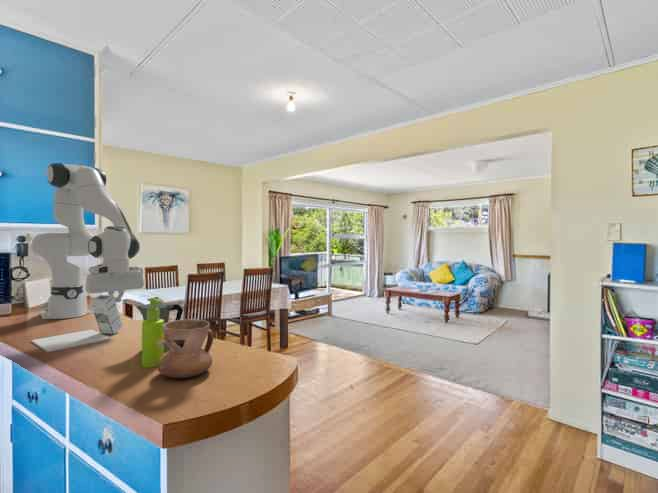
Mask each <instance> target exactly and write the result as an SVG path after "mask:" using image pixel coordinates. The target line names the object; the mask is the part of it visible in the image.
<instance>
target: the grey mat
mask: <svg viewBox="0 0 658 493" xmlns="http://www.w3.org/2000/svg"><path fill="white" fill-rule="evenodd" d="M109 340H112V337H111V336H110V337H109V336H108V335H107V334H101V332H100V331H99V332H98V331H96V330H94V329H87V330H81V331H76V332H70V333H64V334H59V335H54V336H49V337H42V338H35V339H32V340H30V341H31V343H32V344H34V345H35V346H38V348H41V350H43V351H45V352H46V353H50V352H56V351H60V350H65V349H70V348H75V347H79V346H80V347H81V346H87V345H89V344H95V343H100V342H105V341H109Z"/></svg>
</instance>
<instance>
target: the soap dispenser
mask: <svg viewBox="0 0 658 493" xmlns="http://www.w3.org/2000/svg"><path fill="white" fill-rule="evenodd" d="M147 301H148V302H149V304H150V308H149V309H148V310H147V320H145V321H143V320H142V322H141V367H142V368H147V369H149V368H150V369H151V368H152V369H153V368H157V363H158V360H159V359H160V358H161V357H162V356H163V355H164V354H165V352H164V344H163V345H161V346H159V345H158V344H157V343H156V342H157V341H158V340H160V339H162V338H164V334H163V325H164V320H163V319H159V309H158V308H156V303H164V301H165V300H164V299H162V298H160V297H159V298H155V297H152V298H147Z"/></svg>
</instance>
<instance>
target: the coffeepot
mask: <svg viewBox="0 0 658 493" xmlns="http://www.w3.org/2000/svg"><path fill="white" fill-rule="evenodd" d="M154 298H159V299H160V297H158V296H156V297H154ZM149 308H150V303H148V304H142V305H138V306H136V308H135V309H137V310H138V311H139V313H140V314H141V315H142V319H143V320H142V322H143V321H145V320H147V310H148V309H149ZM156 308H158V309H159V319H163V320H164V324H165V323H168V322H169V317H170V313H171V311H174V310H176V311H177V312H176V314H175V315H176V316H175V319H174V320H181V318H182V316H183V313H184V309H183V308H182V306H181V305H179V303H177V304H176V303H173V304H171V303H164V302H161V303H156ZM164 338H165V337H164ZM168 351H170V349H169V347H168V345H167V344H164V353H165V352H166V353H167V352H168Z"/></svg>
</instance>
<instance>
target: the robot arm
mask: <svg viewBox="0 0 658 493" xmlns="http://www.w3.org/2000/svg"><path fill="white" fill-rule="evenodd" d="M45 173H46V180H47V182H48V183H49V185H50V186H53V187H54V188H55V192H54V198H53V219H54V221H55V222H56V223H57V224H59V225H61V226H64V227H66V228H67V229H68V232H47V233H46V232H45V233H39V234H36V235H35V236H34V238H32V241H31V249H32V251H33V253H35V255H37V256H39V257H41V258H42V259H43V260H44V261H45V262H46V263H47V264H48V266H49V267H50V270H51V278H52V286H51V289H50V296H49V298H48V299H47V301H46V302H44V303H42V309H45V310H43V311H40V317H41V319H42V320H62V319H63V320H64V319H72V318H78V317H83V316H85V315H87V314H91V310H89V309H88V302H87V296H86V295H84V294H83V293H84V285H83V271H82V268H81V267H80V266H79V265H76V264H74V263H71V262H69V261H68V259H67V258H68V257H86V256H92V257H93V258H96V259H102V263H99V264H96V265H94V266H90V267H88V273H89V274H88V275H87V276H86V279H85V291H86V293H87V294H91V295H92V294H100V293H101V294H102V293H107V294H108V295H113V296H114V295H115V292H118V295H117V297H115V296H114V299H115V302H116V303H120V302H122V298H123V296H124V294H125V291H129V290H138V289H139V290H141V289H143V287H144V285H145V283H144V281H145V280H144V269H143V267H141V266H138V265H136V266H130V259H133V258H134V257H135V256H137V254H138V253H139V251H140V242H139V240H138V239H137V237H136V236H135V235H134V233H133V231H132V229H131V227H130V225H129V222H128V220H127V218H126V217H125V214H124V212H123V211H122V208H121V206H120V205H119V204H118V203H117V202H115V201H114V200H113V199H112V198H111V197H110V196H109V194H108V192H107V189H106V184H107V175H106V173H105V172H104V170H102V169H100V168H97V167H91V166H87V165H82V164H73V163H72V164H70V163H61V162H55V163H54V162H53V163H51V164H50V165H48V167H47V170H46V172H45ZM84 211H87V212H88V213H91V214H95V215H98V216H100V217H104V218H105V219H107V220H109V221H110V222H111V223H112V225H113V226H111V225H110V226H105V228H103V231H102V232H101V233H99V234H98V235H95V234H93V233H92V231H90V230H89V229H88V226H86V224H85V219H84Z"/></svg>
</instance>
